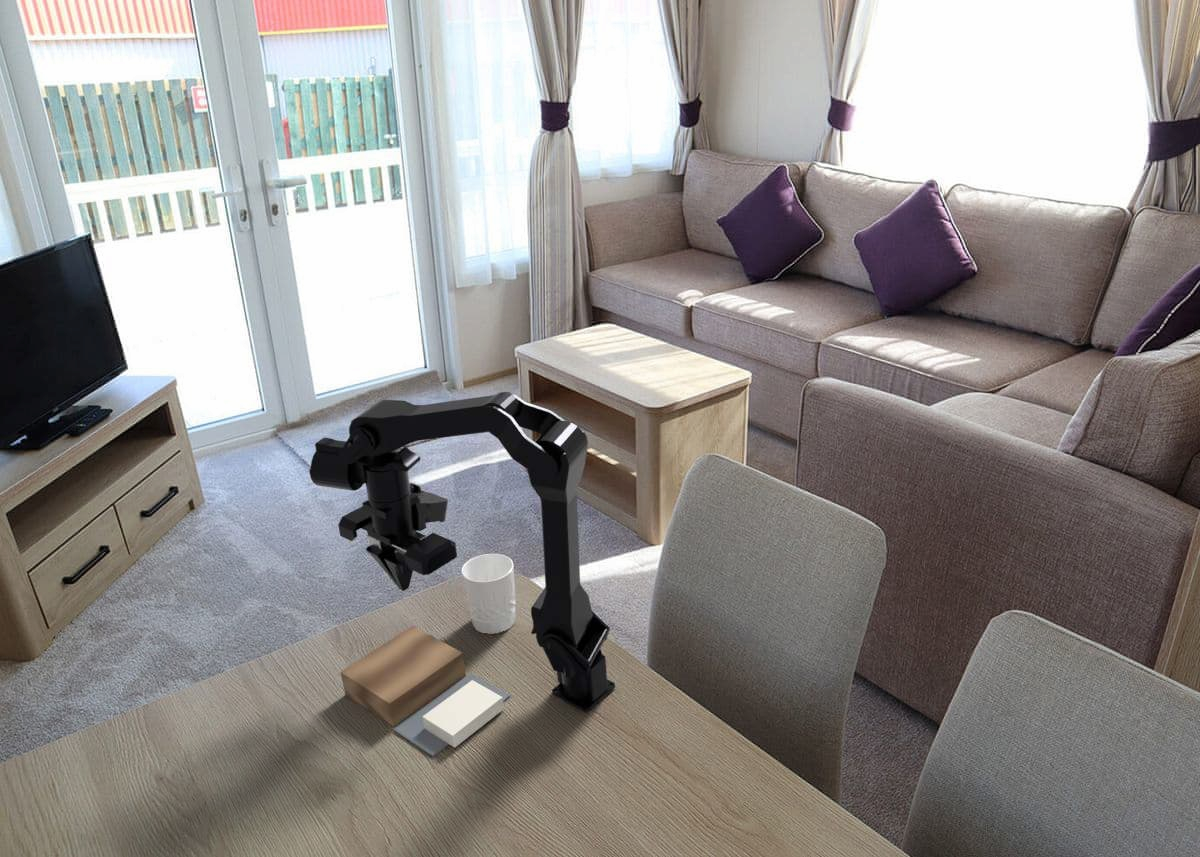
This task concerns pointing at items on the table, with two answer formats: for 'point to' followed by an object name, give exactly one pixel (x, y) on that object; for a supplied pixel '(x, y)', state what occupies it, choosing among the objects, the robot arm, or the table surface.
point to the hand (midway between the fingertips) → (404, 588)
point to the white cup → (490, 592)
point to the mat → (414, 724)
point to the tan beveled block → (403, 675)
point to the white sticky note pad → (463, 713)
